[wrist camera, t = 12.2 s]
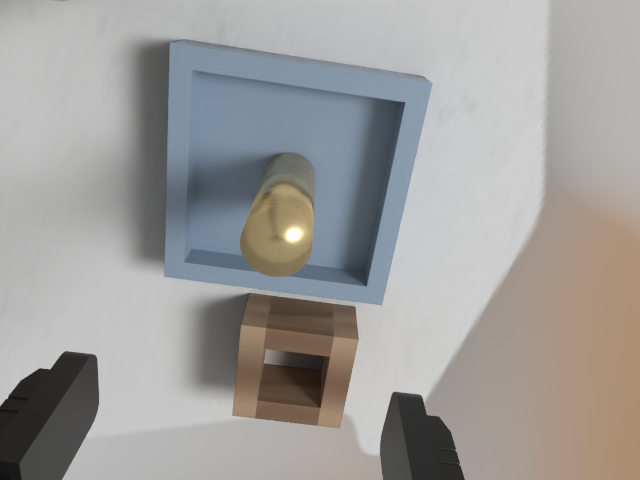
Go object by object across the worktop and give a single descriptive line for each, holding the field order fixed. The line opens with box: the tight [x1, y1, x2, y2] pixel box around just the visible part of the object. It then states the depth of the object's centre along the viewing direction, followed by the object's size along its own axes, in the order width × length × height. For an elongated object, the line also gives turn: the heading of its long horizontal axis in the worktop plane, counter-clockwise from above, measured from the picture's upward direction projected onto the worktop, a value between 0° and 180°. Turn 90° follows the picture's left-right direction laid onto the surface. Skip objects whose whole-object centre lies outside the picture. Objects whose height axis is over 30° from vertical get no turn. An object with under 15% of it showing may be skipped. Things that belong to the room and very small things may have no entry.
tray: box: [164, 40, 432, 305], centre depth 31 cm, size 14×14×3 cm
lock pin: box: [240, 152, 316, 277], centre depth 27 cm, size 3×3×10 cm
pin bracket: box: [232, 293, 358, 428], centre depth 36 cm, size 8×8×4 cm
